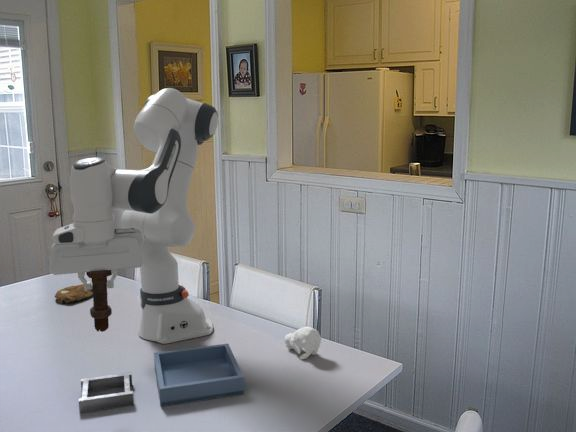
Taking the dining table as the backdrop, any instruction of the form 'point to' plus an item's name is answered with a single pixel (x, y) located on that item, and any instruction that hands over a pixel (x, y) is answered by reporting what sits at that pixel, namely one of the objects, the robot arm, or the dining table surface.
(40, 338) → the dining table surface
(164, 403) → the tray
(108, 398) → the bracket
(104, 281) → the bolt
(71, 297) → the decorative rock
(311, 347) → the white figurine
